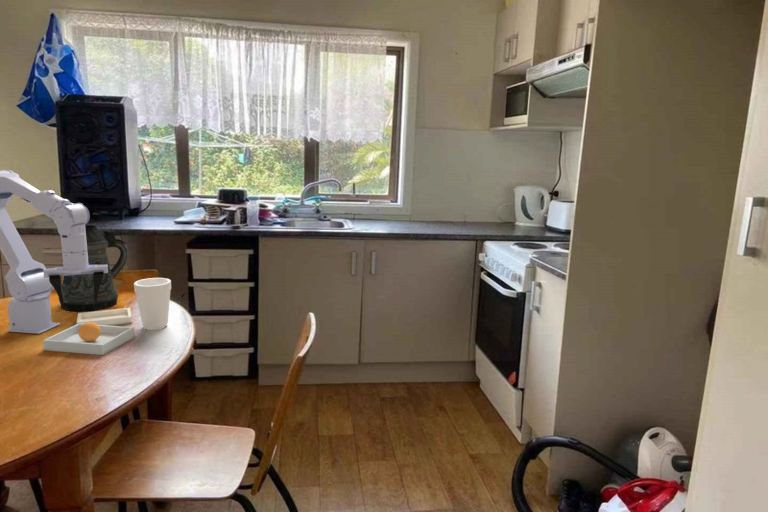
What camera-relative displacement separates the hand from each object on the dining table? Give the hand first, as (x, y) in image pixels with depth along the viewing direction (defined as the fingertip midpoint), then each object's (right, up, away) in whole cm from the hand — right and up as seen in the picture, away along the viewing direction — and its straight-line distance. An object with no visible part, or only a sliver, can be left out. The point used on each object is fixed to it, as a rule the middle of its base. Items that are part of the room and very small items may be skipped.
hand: (79, 301), depth 141 cm
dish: (0, -7, +13) cm, 14 cm away
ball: (+5, -8, -4) cm, 10 cm away
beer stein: (-12, -3, +29) cm, 31 cm away
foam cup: (+16, -8, +10) cm, 20 cm away
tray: (+5, -11, -4) cm, 12 cm away
